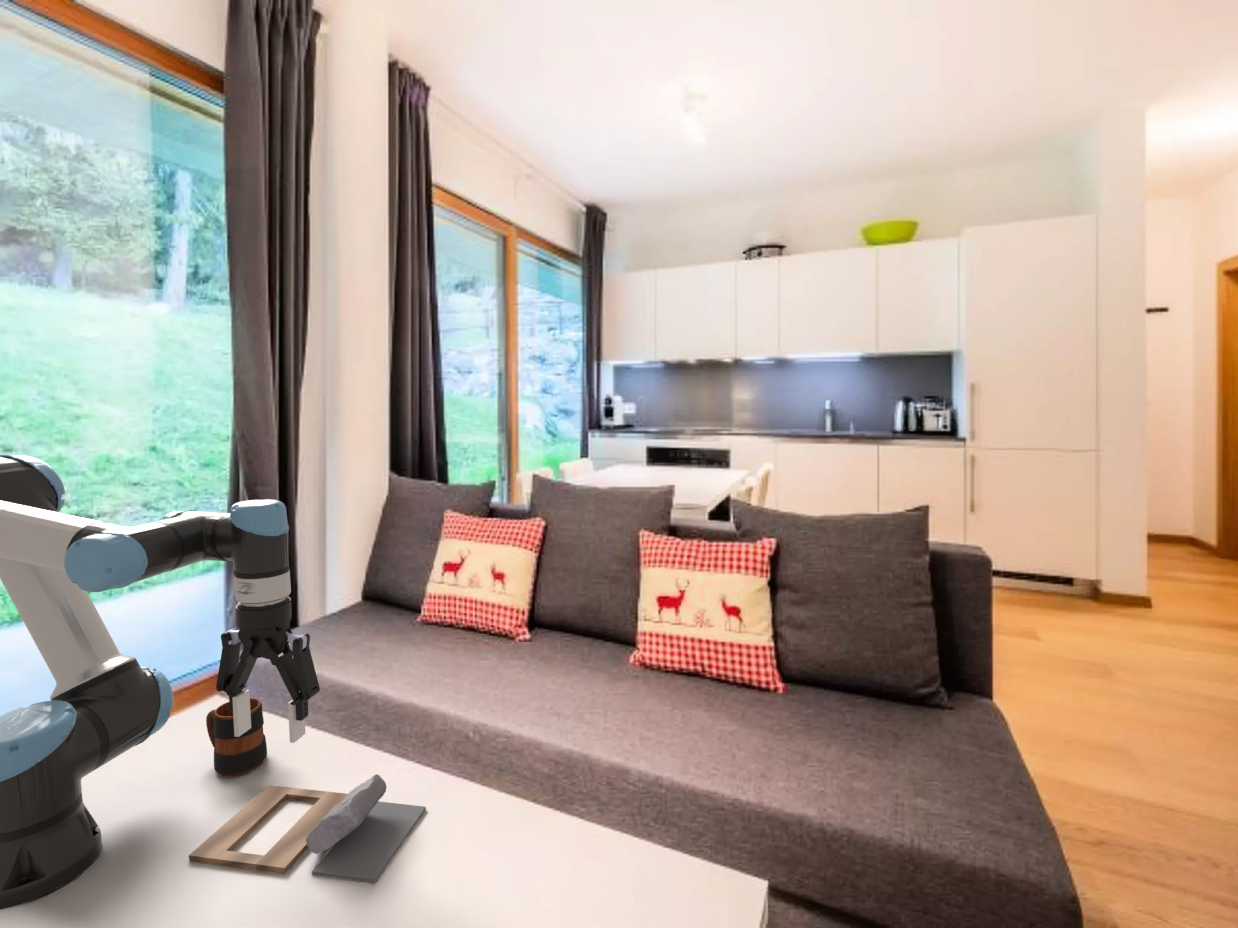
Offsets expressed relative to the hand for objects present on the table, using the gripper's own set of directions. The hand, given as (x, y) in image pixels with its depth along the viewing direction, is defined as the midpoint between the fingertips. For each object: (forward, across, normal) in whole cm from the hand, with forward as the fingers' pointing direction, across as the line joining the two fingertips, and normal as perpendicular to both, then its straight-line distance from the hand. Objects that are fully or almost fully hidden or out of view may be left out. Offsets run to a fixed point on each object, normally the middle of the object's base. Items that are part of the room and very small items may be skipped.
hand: (270, 734), depth 97 cm
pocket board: (+16, 0, 0) cm, 16 cm away
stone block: (+14, +14, 0) cm, 19 cm away
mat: (+16, +17, 0) cm, 24 cm away
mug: (+16, -20, +15) cm, 30 cm away
